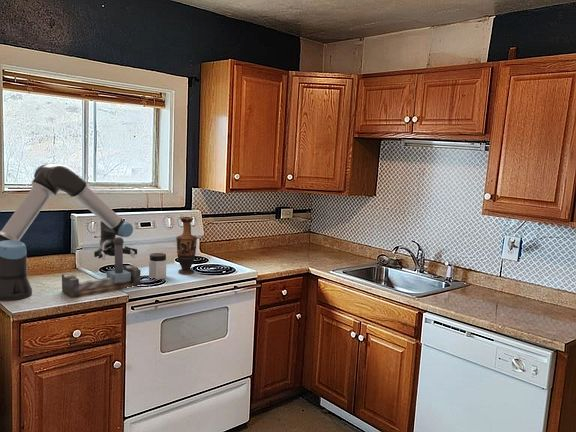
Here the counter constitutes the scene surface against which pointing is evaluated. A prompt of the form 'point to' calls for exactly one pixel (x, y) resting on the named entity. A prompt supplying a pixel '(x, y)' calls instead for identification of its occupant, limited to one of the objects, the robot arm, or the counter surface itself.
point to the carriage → (119, 264)
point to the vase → (186, 247)
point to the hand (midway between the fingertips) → (119, 256)
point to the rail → (97, 283)
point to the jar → (157, 265)
